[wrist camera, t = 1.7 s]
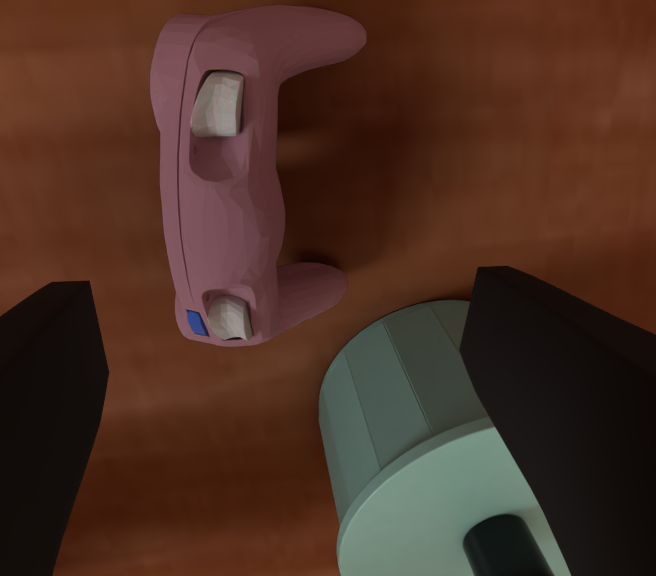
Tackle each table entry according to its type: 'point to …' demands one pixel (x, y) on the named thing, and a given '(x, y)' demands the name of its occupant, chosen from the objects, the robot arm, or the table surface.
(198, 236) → the video game controller
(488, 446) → the pot lid
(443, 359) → the pot
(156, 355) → the table surface
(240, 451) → the table surface
